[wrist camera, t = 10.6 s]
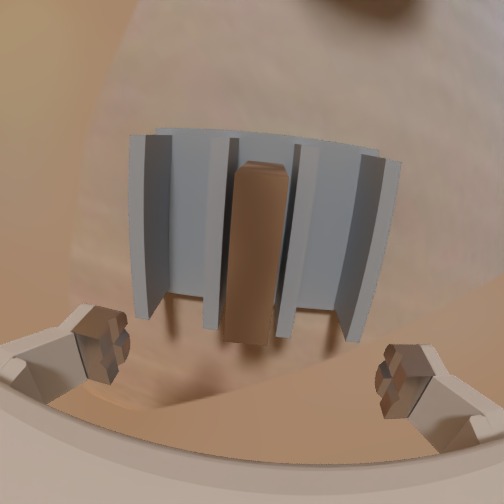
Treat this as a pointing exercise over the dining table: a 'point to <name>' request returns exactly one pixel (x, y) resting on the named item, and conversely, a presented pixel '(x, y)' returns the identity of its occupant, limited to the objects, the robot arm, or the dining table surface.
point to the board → (254, 250)
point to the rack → (294, 231)
